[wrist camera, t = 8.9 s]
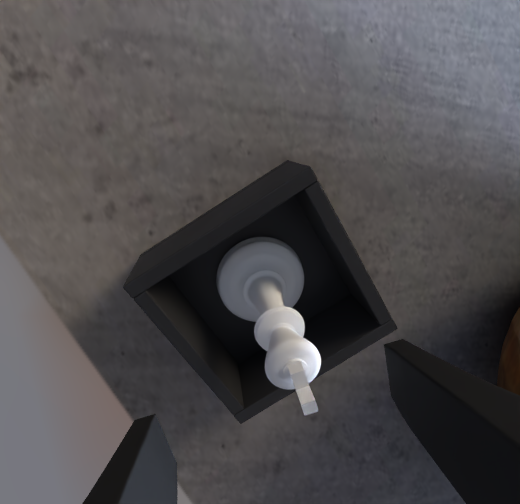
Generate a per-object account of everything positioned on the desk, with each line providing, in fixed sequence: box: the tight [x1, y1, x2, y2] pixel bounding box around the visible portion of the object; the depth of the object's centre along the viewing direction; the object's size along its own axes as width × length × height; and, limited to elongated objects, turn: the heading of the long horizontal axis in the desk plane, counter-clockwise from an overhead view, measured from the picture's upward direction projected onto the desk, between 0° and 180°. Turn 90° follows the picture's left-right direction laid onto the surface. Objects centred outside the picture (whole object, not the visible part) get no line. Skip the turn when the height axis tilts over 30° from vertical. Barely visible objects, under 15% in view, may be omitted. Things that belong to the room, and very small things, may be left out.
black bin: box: [123, 160, 397, 424], centre depth 18 cm, size 9×9×4 cm
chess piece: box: [216, 237, 321, 416], centre depth 15 cm, size 5×5×10 cm
